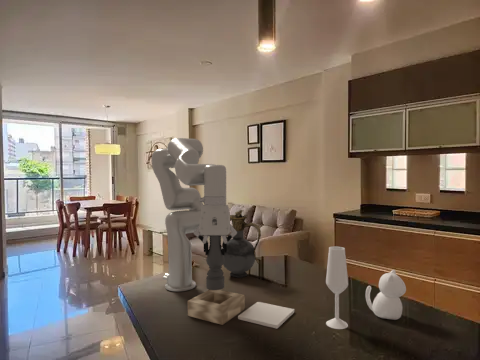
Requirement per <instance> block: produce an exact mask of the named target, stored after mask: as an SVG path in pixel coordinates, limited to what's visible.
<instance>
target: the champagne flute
mask: <svg viewBox="0 0 480 360" xmlns="http://www.w3.org/2000/svg"><path fill="white" fill-rule="evenodd" d="M327 254H328V255H327V256H328V257H327V268H326V277H325V284H326V286H327V287H328V289H329V290H330V291H331V292H332V293H333V294H334V318H331V319H329V320H327V321H326V322H325V325H326V326H327V327H329V328H331V329H335V330H343V329H347V328H348V327H349V325H348V323H347V322H346V321H345V320H343V319H341V318H340V294H342V293H343V292H344V291H345V290H346V289H348V286H349V278H348V269H347V268H348V267H347V257H346V248H345V247H342V246H337V245H335V246H329V247H328V253H327Z"/></svg>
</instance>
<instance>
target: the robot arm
mask: <svg viewBox="0 0 480 360" xmlns="http://www.w3.org/2000/svg"><path fill="white" fill-rule="evenodd" d="M203 153H204V145H203V143H202V142H201V141H200V140H199V139H197V138H183V137H178V138H172V139H171V140H170V141H169V142H168V143H167V146H166V148H159V149H156V150H154V151H153V152H152V154H151V167H152V171H153V173H154V175H155V177H156V178H157V181H158V183H159V187H160V191H161V196H162V200H163V203H164V206H165V208H166V209H167V210H168V211H171V212H169V213H168V214H167V215H166V216H165V220H164V221H165V223H164V225H165V228H166V229H165V231H166V234H167V247H168V248H167V250H168V253H167V255H168V257H167V258H168V273H167V272H166V273H165V274H164V276H162V280H165V281H166V282H165V284H164V288H165V289H166V290H168V291H170V292H186V291H191V290H193V289H194V288H196V285H197V284H196V281H195V280H193V275H192V274H193V273H192V271H193V268H192V266H193V265H192V263H193V261H192V259H193V258H192V243H191V240H189V238H188V237H187V236H186V234H187V235H188V234H192V233H193V235H194V236H196V237H197V238H198V239H199V240H200V241H201V242H202V244H203V253H205V256H207V255H208V250H209V241H208V238H209V237H210V236H221V239H222V240H223V241H222V243H221V247H222V255H225V252H227V242H228V241H229V240H231V239H233V237H234V236H235V235H236V234H237V231H236V230H235V229H234V228H233V227H232V226H233V224H232V223H231V219H230V215H231V214H230V208H229V204H227V167H226V166H225V165H223V164H215V163H199V161H200V159H201V157H202V155H203ZM171 169H174V171H172V170H171ZM180 182H181V183H182V184H183V185H185V186H188V187H183V186H181V183H180ZM189 186H190V187H189ZM191 186H192V187H191ZM193 186H203V197H202V195H201V193H200V192H199V190H198V189H197V188H195V187H193ZM214 217H216V218H217V219H216V218H214ZM212 218H213V219H216V220H217V225H214V222H213V224H212V220H213V219H212Z"/></svg>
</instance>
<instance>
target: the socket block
mask: <svg viewBox="0 0 480 360" xmlns="http://www.w3.org/2000/svg"><path fill="white" fill-rule="evenodd" d="M245 301H246V295H245V294H241V293H237V292H231V291H227V290H223V289H220V290H209V289H207V290H206V291H203V292H202V293H200V294H197V296H194V297H192V298H191V299H188V300H187V316H189V317H191V318H194V319H195V318H196V319H199V320H203V321H206V322H211V323H214V324H219V325H222V326H223V325H225V324H226V323H228V322H229V321H231V320H232V319H233V318H235V317H236V316H238V315H240V314H241V313H243V312H244V311H245V310H246V304H245V303H246V302H245Z"/></svg>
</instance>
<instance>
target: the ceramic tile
mask: <svg viewBox="0 0 480 360" xmlns="http://www.w3.org/2000/svg"><path fill="white" fill-rule="evenodd" d="M294 313H295V308H290V307H284V306H281V305H275V304H272V303H271V304H270V303H266V302H262V301H257V302H255V303H254V304H252V305H251V306H250V307H248V308H247V309H245V310H243V311H242V312H240V313H239V314H238V315H237V319H238V320H241V321H245V322H249V323H252V324H255V325H256V324H257V325H260V326H264V327H268V328H272V329H279V328H280V327H281V326H282V325H283V323H285V322H286V321H287V320H288V319H289V318H290V317H291V316H292V315H293V314H294Z"/></svg>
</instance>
